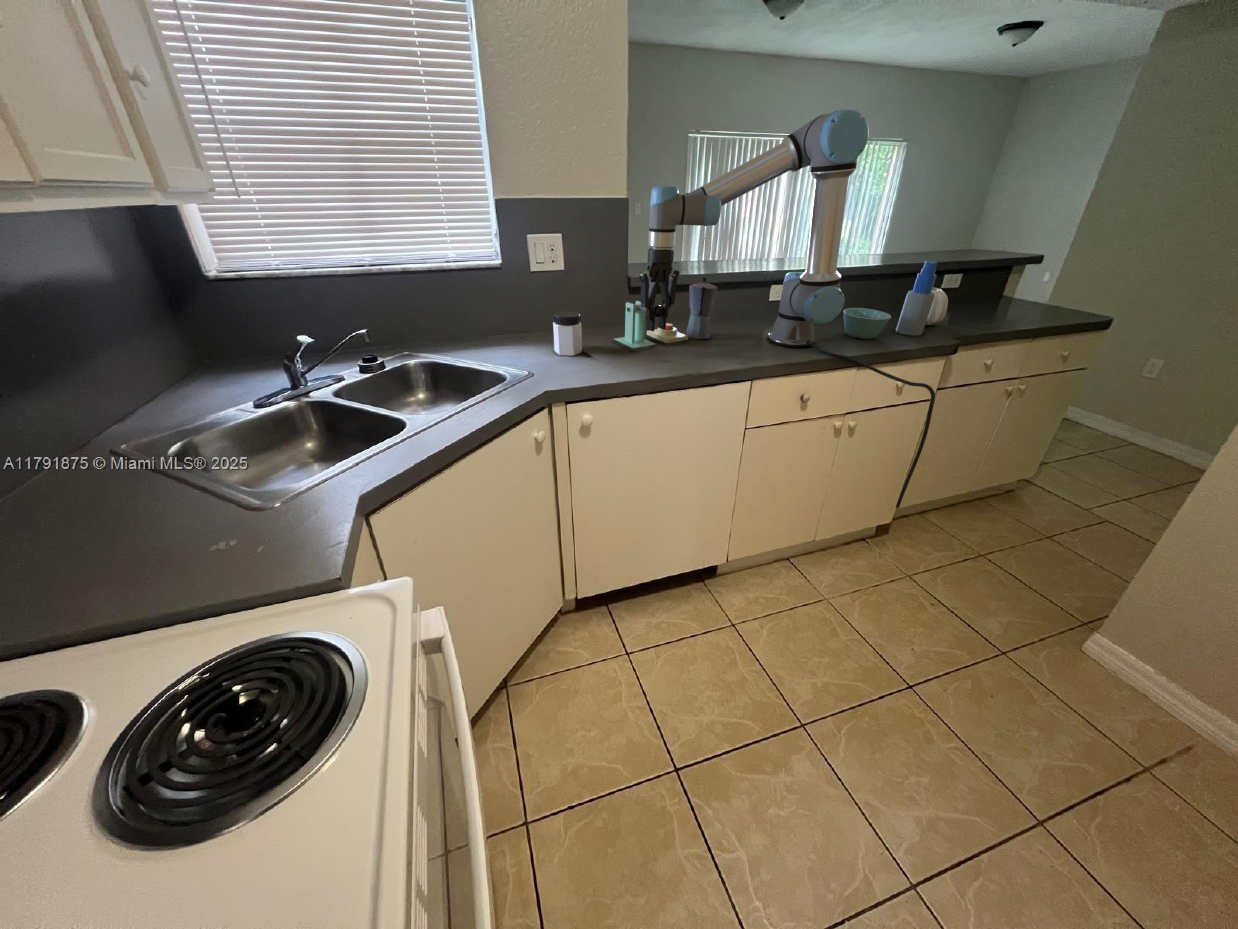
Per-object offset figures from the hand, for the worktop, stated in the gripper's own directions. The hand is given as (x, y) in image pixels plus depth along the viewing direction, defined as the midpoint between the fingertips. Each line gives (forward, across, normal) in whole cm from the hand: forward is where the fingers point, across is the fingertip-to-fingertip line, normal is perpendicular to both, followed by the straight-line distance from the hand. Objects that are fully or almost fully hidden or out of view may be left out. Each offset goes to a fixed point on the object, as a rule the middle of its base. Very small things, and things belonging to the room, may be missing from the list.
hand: (656, 329), depth 151 cm
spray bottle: (+8, -100, +26) cm, 104 cm away
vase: (+8, -118, +21) cm, 120 cm away
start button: (+4, -13, -11) cm, 17 cm away
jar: (+8, +23, -16) cm, 29 cm away
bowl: (+8, -79, +20) cm, 82 cm away
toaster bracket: (+8, 0, -12) cm, 14 cm away
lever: (-3, 0, -5) cm, 6 cm away
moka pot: (+8, -25, -8) cm, 27 cm away
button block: (+8, -13, -11) cm, 19 cm away
